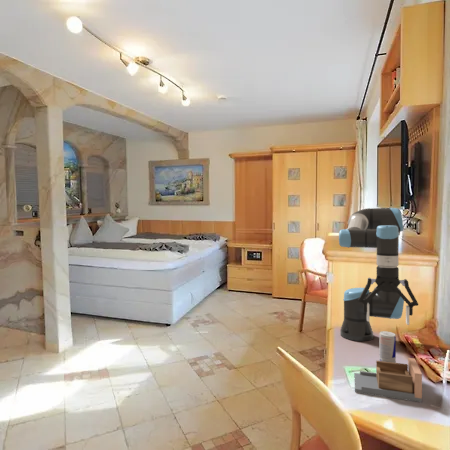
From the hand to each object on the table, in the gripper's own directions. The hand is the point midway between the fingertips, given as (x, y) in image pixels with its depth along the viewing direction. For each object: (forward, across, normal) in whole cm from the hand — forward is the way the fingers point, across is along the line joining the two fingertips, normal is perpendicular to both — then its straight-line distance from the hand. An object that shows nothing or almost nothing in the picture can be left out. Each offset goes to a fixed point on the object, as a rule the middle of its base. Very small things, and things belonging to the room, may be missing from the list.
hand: (387, 322), depth 129 cm
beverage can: (+20, 0, 0) cm, 20 cm away
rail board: (+20, -2, -13) cm, 23 cm away
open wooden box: (+18, 0, -13) cm, 22 cm away
